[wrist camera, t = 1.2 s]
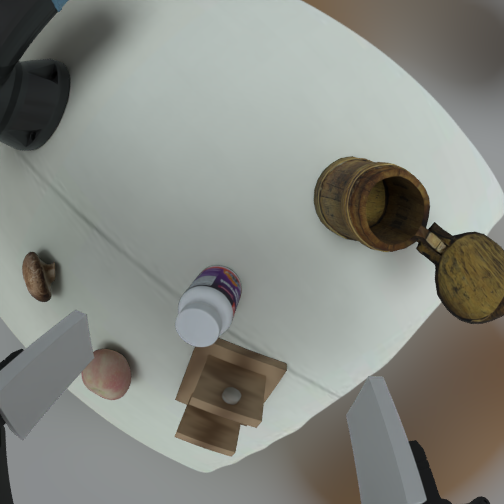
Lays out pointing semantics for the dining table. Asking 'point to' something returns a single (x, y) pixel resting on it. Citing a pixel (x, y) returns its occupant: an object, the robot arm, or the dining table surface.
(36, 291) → the mushroom
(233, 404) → the holder
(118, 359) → the apple
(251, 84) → the dining table surface
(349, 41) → the dining table surface
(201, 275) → the pill bottle
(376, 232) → the wooden mug
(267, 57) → the dining table surface
